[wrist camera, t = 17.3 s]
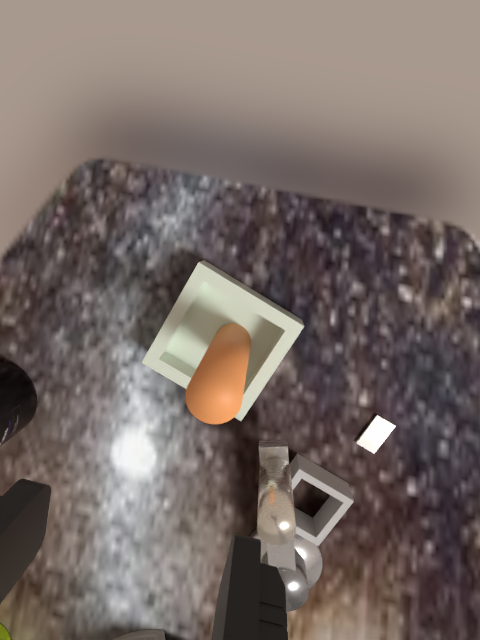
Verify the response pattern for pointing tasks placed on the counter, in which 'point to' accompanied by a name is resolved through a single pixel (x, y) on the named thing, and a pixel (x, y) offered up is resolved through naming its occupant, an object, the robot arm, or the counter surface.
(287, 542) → the crank
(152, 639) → the dog bowl
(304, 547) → the crank flange
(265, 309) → the tray
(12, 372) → the supplement bottle
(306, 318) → the counter surface
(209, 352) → the pin
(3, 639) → the soap dispenser
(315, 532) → the collar
